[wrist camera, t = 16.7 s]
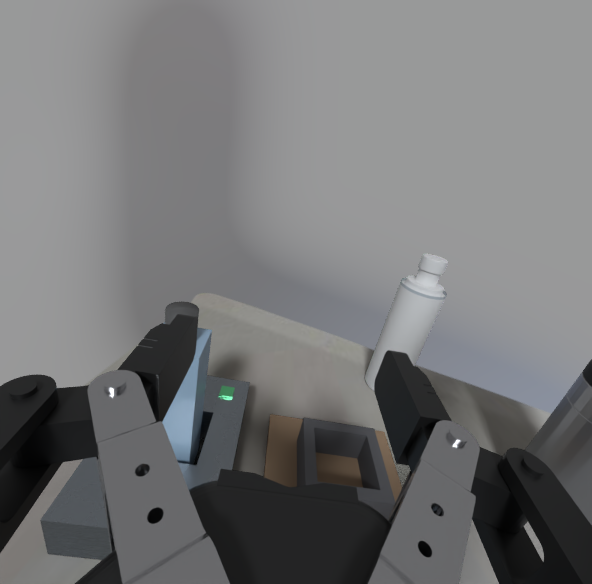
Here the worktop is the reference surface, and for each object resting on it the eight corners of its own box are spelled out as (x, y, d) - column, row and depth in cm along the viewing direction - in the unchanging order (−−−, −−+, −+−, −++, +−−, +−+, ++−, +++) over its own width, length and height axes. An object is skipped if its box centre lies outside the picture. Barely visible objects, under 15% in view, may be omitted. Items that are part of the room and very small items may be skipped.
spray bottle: (362, 367, 56) (411, 236, 46) (398, 376, 56) (454, 246, 46) (366, 392, 50) (423, 247, 40) (406, 402, 50) (473, 259, 40)
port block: (148, 392, 41) (148, 364, 39) (245, 407, 42) (250, 380, 40) (47, 553, 24) (39, 517, 22) (211, 571, 25) (217, 539, 23)
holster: (269, 417, 41) (275, 391, 39) (382, 434, 42) (393, 410, 40) (255, 561, 26) (263, 531, 25) (428, 581, 28) (448, 554, 26)
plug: (160, 441, 35) (165, 293, 27) (198, 446, 35) (215, 302, 27) (142, 479, 31) (143, 317, 23) (187, 484, 31) (202, 327, 23)
